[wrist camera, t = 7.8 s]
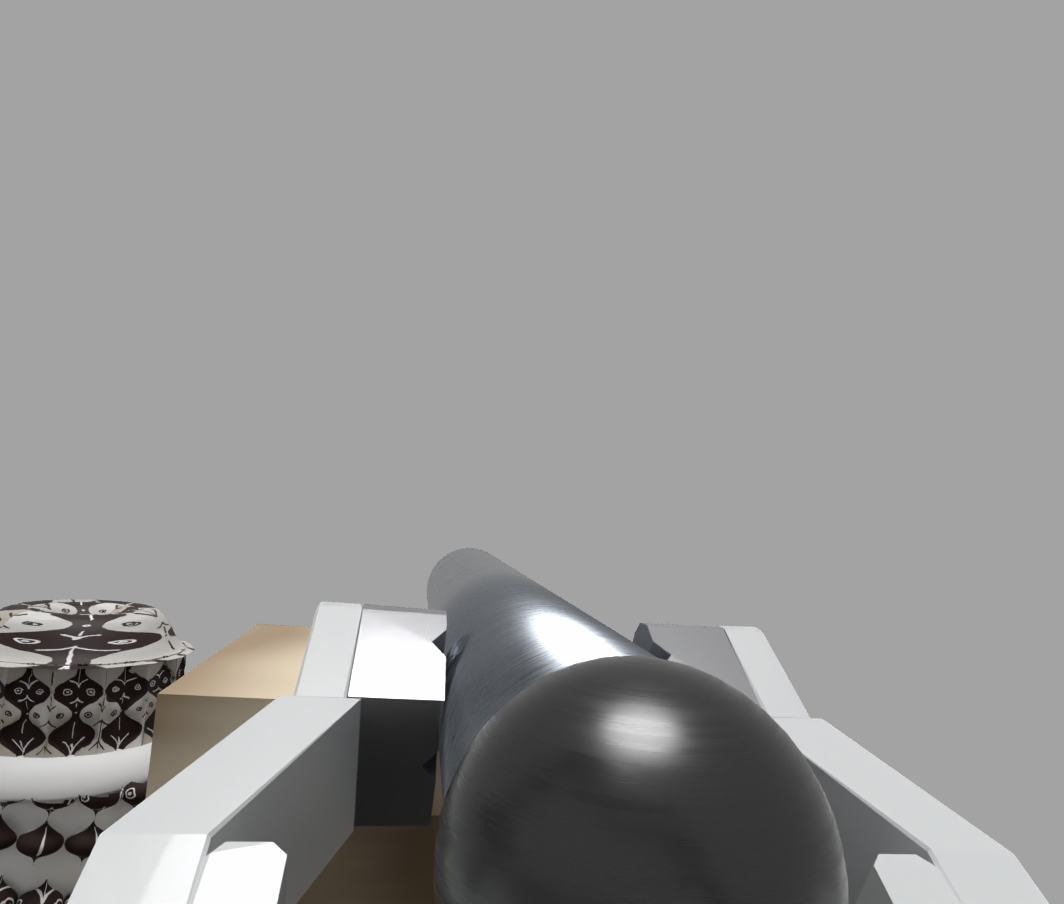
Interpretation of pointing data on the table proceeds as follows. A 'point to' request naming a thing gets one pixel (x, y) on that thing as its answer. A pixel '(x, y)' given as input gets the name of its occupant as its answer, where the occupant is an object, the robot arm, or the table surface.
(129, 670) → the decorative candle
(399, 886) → the stand
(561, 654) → the steel pin
